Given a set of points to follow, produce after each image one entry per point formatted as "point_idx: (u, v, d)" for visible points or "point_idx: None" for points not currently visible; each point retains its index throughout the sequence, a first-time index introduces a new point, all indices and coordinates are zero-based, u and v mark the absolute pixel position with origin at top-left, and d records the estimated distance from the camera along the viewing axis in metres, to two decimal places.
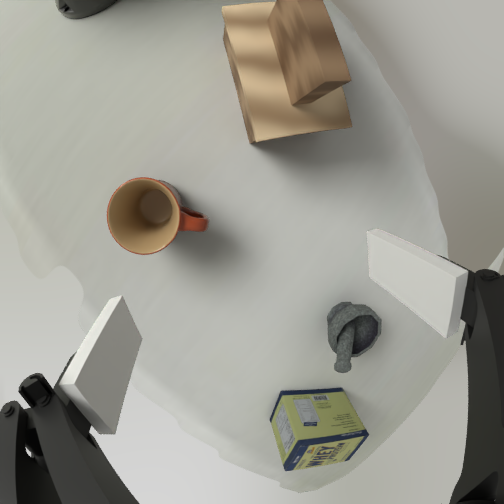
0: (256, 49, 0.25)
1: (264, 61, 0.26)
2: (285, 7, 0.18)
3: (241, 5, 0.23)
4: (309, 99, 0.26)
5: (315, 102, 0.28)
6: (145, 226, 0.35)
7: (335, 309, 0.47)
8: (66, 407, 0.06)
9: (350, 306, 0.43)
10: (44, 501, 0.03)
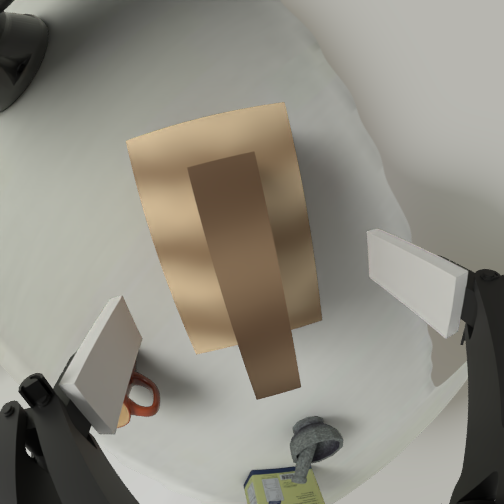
0: (182, 228, 0.20)
1: (195, 249, 0.21)
2: None
3: (156, 133, 0.17)
4: None
5: None
6: None
7: (300, 425, 0.42)
8: (66, 407, 0.06)
9: (312, 431, 0.38)
10: (44, 501, 0.03)
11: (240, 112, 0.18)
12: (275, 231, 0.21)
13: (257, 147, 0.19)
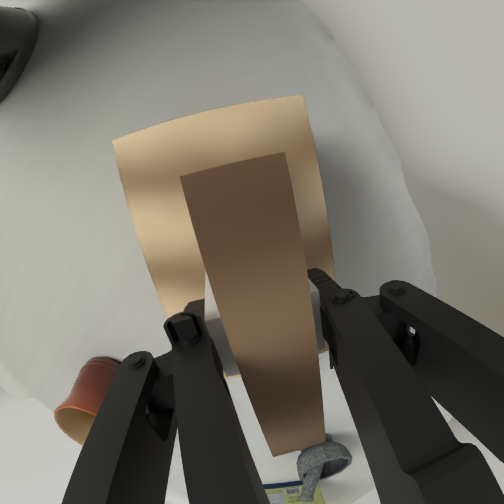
0: (180, 246, 0.17)
1: (196, 271, 0.17)
2: None
3: (147, 131, 0.14)
4: None
5: None
6: None
7: None
8: (213, 350, 0.08)
9: (320, 449, 0.35)
10: (145, 472, 0.05)
11: (250, 105, 0.15)
12: None
13: (271, 148, 0.16)
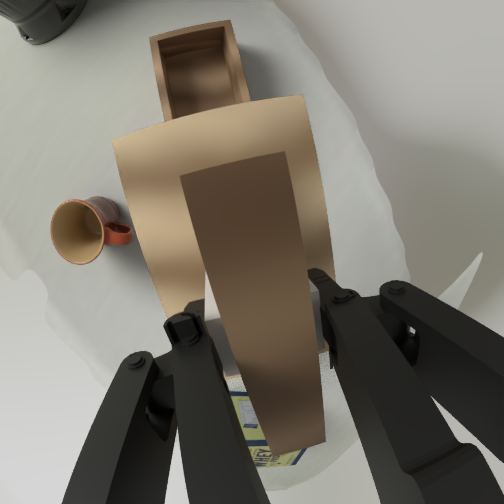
0: (180, 246, 0.17)
1: (196, 271, 0.17)
2: None
3: (147, 131, 0.14)
4: None
5: None
6: (88, 238, 0.37)
7: None
8: (213, 350, 0.08)
9: None
10: (145, 472, 0.05)
11: (250, 105, 0.15)
12: None
13: (271, 148, 0.16)
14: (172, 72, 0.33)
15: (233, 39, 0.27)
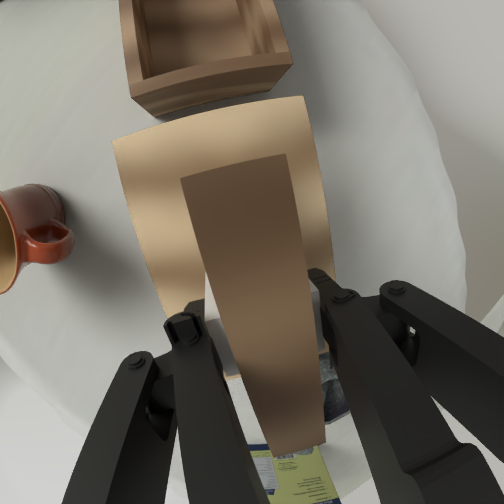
0: (180, 247, 0.17)
1: (197, 272, 0.17)
2: None
3: (147, 132, 0.14)
4: None
5: None
6: None
7: None
8: (213, 350, 0.08)
9: (319, 363, 0.28)
10: (145, 472, 0.05)
11: (250, 106, 0.15)
12: None
13: (271, 149, 0.16)
14: None
15: None
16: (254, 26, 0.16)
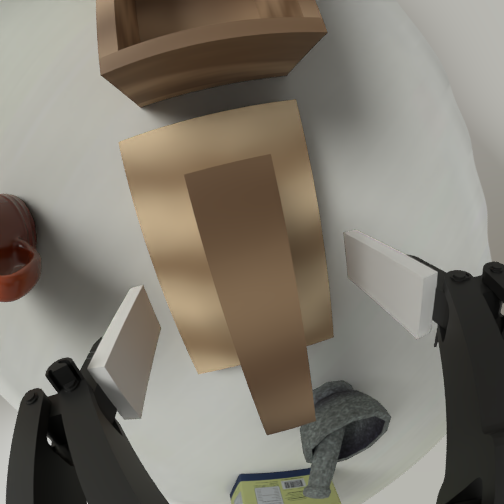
0: (182, 240, 0.18)
1: (197, 263, 0.18)
2: None
3: (152, 134, 0.15)
4: None
5: None
6: None
7: (317, 395, 0.26)
8: (94, 393, 0.07)
9: (340, 402, 0.22)
10: (62, 493, 0.03)
11: (247, 110, 0.16)
12: None
13: (266, 149, 0.17)
14: None
15: None
16: None
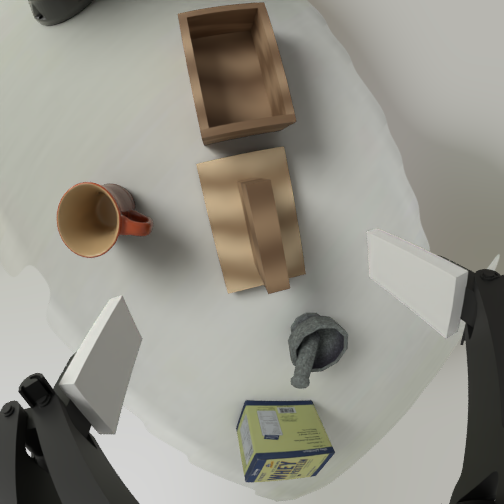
0: (226, 214, 0.37)
1: (233, 226, 0.37)
2: (246, 202, 0.30)
3: (213, 161, 0.35)
4: None
5: None
6: (98, 229, 0.33)
7: (299, 320, 0.45)
8: (66, 407, 0.06)
9: (312, 318, 0.41)
10: (44, 501, 0.03)
11: (260, 152, 0.35)
12: (277, 218, 0.38)
13: (268, 171, 0.36)
14: (198, 54, 0.31)
15: (268, 21, 0.24)
16: (272, 89, 0.30)
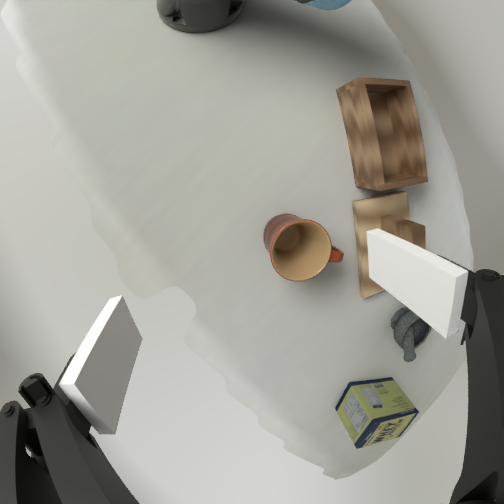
0: None
1: None
2: (403, 237, 0.40)
3: (367, 201, 0.45)
4: None
5: None
6: (280, 254, 0.43)
7: (398, 314, 0.55)
8: (66, 407, 0.06)
9: (412, 311, 0.51)
10: (44, 501, 0.03)
11: (394, 195, 0.45)
12: None
13: (398, 210, 0.46)
14: None
15: (413, 100, 0.34)
16: (408, 152, 0.40)
